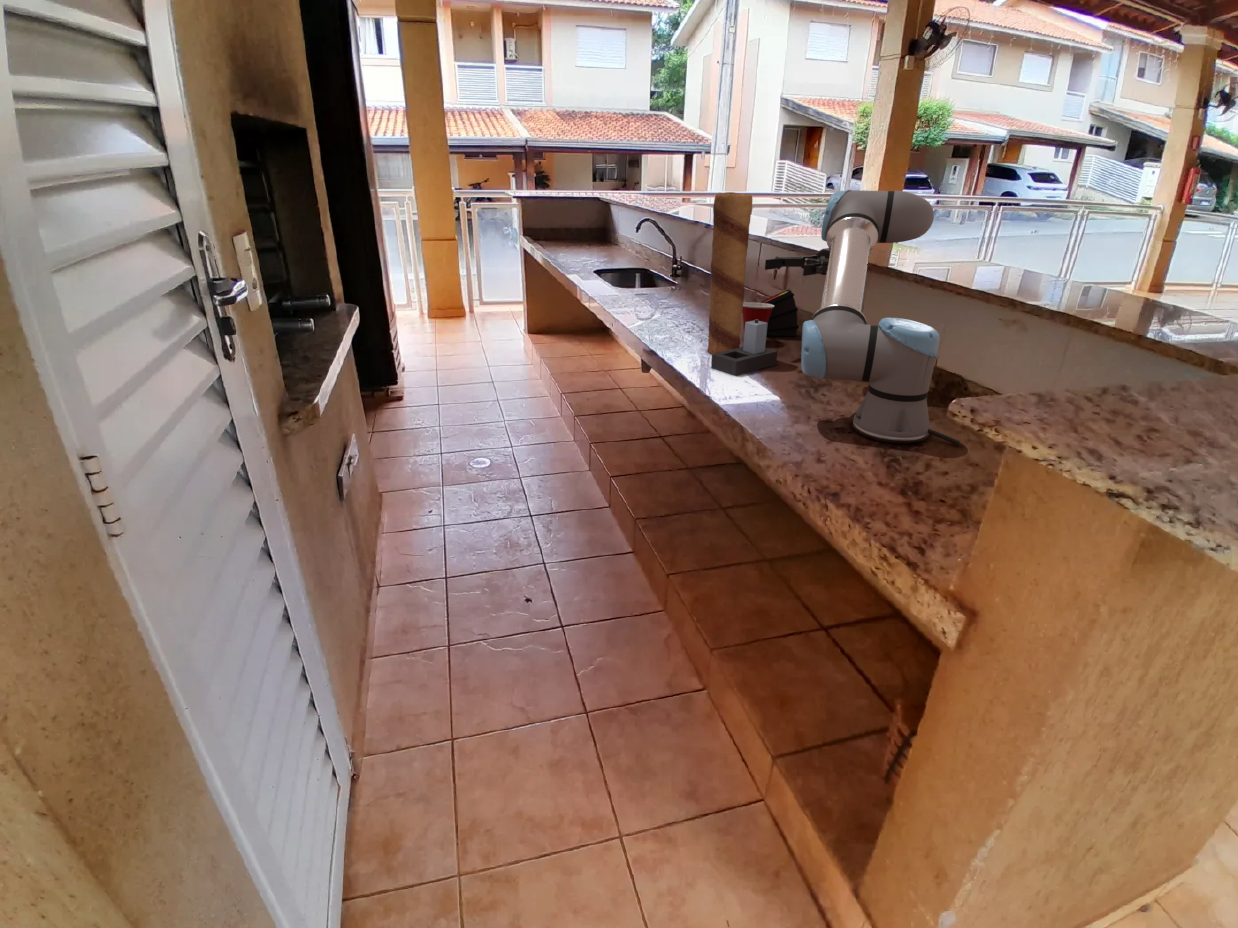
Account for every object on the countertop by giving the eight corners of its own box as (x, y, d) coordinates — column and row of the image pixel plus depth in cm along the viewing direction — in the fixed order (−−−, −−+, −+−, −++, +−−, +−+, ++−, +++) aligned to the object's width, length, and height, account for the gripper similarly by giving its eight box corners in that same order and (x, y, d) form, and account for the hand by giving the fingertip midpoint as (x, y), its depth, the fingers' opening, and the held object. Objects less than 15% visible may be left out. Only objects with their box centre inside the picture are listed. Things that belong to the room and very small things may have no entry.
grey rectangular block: (763, 364, 178) (768, 320, 172) (753, 367, 175) (757, 322, 170) (752, 360, 181) (756, 317, 175) (741, 363, 178) (745, 319, 173)
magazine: (807, 331, 205) (792, 290, 199) (769, 348, 208) (754, 307, 202) (804, 328, 208) (789, 288, 203) (767, 345, 211) (752, 305, 205)
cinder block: (776, 364, 177) (777, 351, 175) (735, 375, 168) (736, 361, 166) (751, 357, 184) (752, 344, 182) (711, 367, 175) (711, 354, 173)
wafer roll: (710, 345, 196) (719, 192, 176) (743, 349, 192) (756, 192, 172) (700, 354, 188) (709, 193, 168) (734, 358, 184) (747, 193, 164)
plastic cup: (775, 338, 203) (779, 302, 198) (763, 346, 195) (767, 308, 190) (744, 334, 209) (747, 298, 203) (732, 341, 200) (734, 304, 195)
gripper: (866, 279, 176) (820, 287, 164) (796, 269, 194) (750, 275, 182) (871, 251, 172) (823, 258, 161) (799, 243, 190) (752, 249, 179)
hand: (784, 267), depth 172 cm, fingers open, 13 cm apart
